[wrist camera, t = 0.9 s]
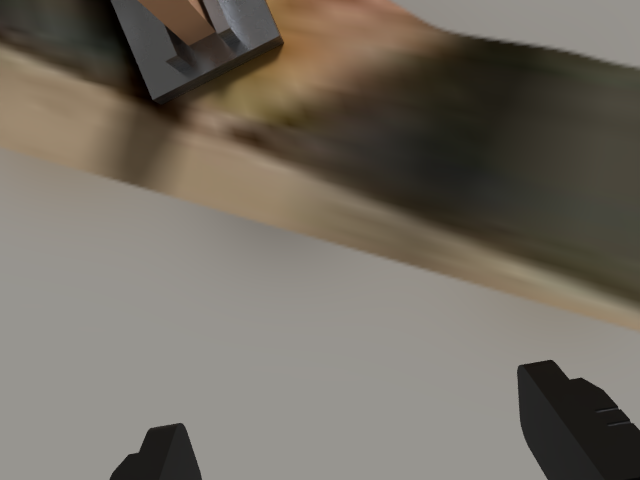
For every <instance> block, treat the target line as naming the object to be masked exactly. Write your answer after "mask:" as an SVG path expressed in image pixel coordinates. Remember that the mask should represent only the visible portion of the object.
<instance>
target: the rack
mask: <svg viewBox="0 0 640 480" xmlns="http://www.w3.org/2000/svg"><path fill="white" fill-rule="evenodd" d="M111 2H112V4H113V7H114V9H115V11H116V14H117V16H118V19H119V21H120V23H121V26H122V28H123V30H124V33H125V35H126V38H127V40H128V42H129V45H130V47H131V50H132V52H133V54H134V57H135V59H136V62H137V64H138V66H139V69H140V71H141V73H142V76H143V78H144V81H145V83H146V85H147V88H148V90H149V93H150V95H151V97H152V100H154V101H155V102H157V103H159V104H161V105H162V104H164V103H166V102H168V101H170V100H172V99H174V98H176V97H178V96H180V95H182V94H184V93H186V92H188V91H190V90H192V89H194V88H196V87H198V86H200V85H202V84H204V83H206V82H208V81H210V80H212V79H214V78H216V77H218V76H219V75H221V74H223V73H225V72H227V71H229V70H231V69H233V68H235V67H237V66H239V65H241V64H243V63H245V62H247V61H249V60H251V59H253V58H255V57H257V56H259V55H261V54H263V53H265V52H267V51H269V50H271V49H273V48H275V47H277V46H279V45H281V44H283V43H284V42H283V39H282V37H281V35H280V32H279V30H278V28H277V25H276V23H275V21H274V19H273V16H272V14H271V12H270V9H269V7H268V5H267V2H266V0H203V2H204V5H205V7H206V9H207V12H208V14H209V16H210V19H211V21H212V23H213V26H214V28H215V30H216V32H215V33H213V34H211V35H209V36H207V37H205V38H203V39H201V40H199V41H197V42H195V43H193V44H191V45H189V46H188V45H187V44H186V43H185V42H184V41H182V40H181V39H180V38H179V37H178V36H177V35H176V34H175V33H173V32H172V31H171V30H170V29H169V28H168V27H167V26H166V25H165V24H163V23H162V22H161V21H160V20H159V19H158V18H157V17H156V16H154V15H153V14H152V13H151V12H150V11H149V10H148V9H147V8H146V7H144V6H143V5H142V4H141V3H140V2H139V1H138V0H111Z"/></svg>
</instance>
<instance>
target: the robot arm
mask: <svg viewBox="0 0 640 480" xmlns="http://www.w3.org/2000/svg"><path fill="white" fill-rule="evenodd" d="M517 376H518V394H519V411H520V422H521V427H522V431H523V434H524V437H525V440H526V442H527V445H528V447H529V448H530V450H531V452H532V453H533V455H534V457H535V458H536V460H537V462H538V464H539V466H540V467H541V469H542V471H543V472H544V474H545V476H546V477H547V479H548V480H640V430H639V429H638V428H637V427H636V426H635V425H634V424H633V423H631V422H630V419H629V418H628V417H627V416H626V415H625V414H624V412H623V411H622V410H621V409H620V410H619V409H618V406H617V405H616V404H615V403H614V402H613V400H612V399H611V398H610V397H609V396H608V395H607V394H606V393H605V392H604V390H602V389H601V388H599V387H596V386H595V385H593V384H592V383H590V382H588V381H586V380H585V379H583V378H577V379H571V380H569V378H568V377H567V376H566V375H565V374H564V373H563V372H562V370H561V369H560V368H559V366H558V365H557V364H556V363H555V362H554V361H553V360H547V361H541V362H535V363H530V364H524V365H519V366H518V370H517ZM110 480H202V478H201V473H200V470H199V467H198V464H197V460H196V457H195V454H194V451H193V449H192V445H191V442H190V439H189V436H188V433H187V430H186V428H185V426H184V425H183V424H182V423H177V424H172V425H166V426H160V427H154V428H150V429H149V430H148V432H147V434H146V436H145V439H144V441H143V443H142V446H141V448H140V451H139V453H135V454H129V455H128V456H127V457H126V458H125V459H124V461H123V462H122V463H121V464H120V465H119V466H118V467H117V468H116V470H115V471H114V472H113V473H112V475H111V477H110Z"/></svg>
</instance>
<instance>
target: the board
mask: <svg viewBox="0 0 640 480" xmlns="http://www.w3.org/2000/svg"><path fill="white" fill-rule="evenodd" d="M138 1H139V2H140V3H141V4H142V5H143V6H144V7H146V8H147V9H148V10H149V11H150V12H151V13H152V14H153V15H154V16H156V17H157V18H158V19H159V20H160V21H161V22H162V23H163V24H165V25H166V26H167V27H168V28H169V29H170V30H171V31H172V32H173V33H175V34H176V35H177V36H178V37H179V38H180V39H181V40H182V41H184V42H185V43H186V44H187V45H188V46H189V45H191V44H193V43H195V42H197V41H199V40H201V39H203V38H205V37H207V36H209V35H211V34H213V33H215V32H216V30H215V28H214V26H213V23H212V21H211V19H210V16H209V14H208V12H207V9H206V7H205V5H204V2H203V0H138Z"/></svg>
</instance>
